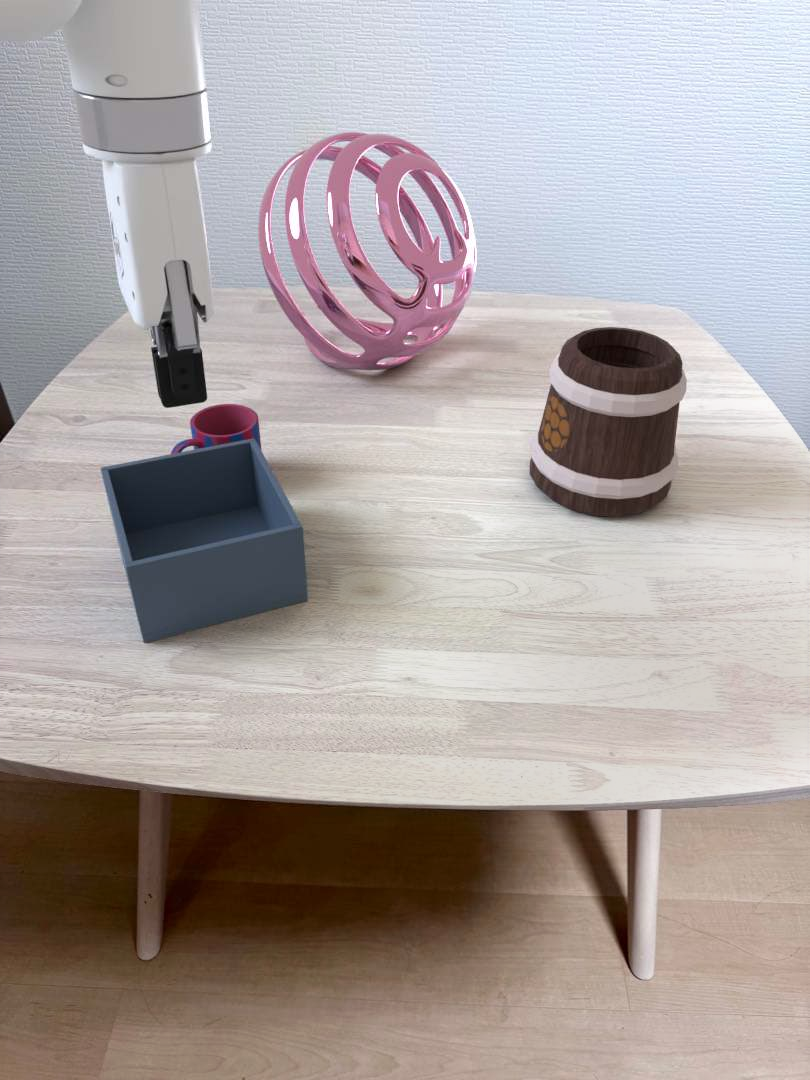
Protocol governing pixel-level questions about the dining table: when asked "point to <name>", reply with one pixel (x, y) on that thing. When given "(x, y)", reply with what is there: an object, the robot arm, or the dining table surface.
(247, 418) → the cup
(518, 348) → the dining table surface
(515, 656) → the dining table surface
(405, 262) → the spiral basket
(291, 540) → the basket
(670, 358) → the mug
